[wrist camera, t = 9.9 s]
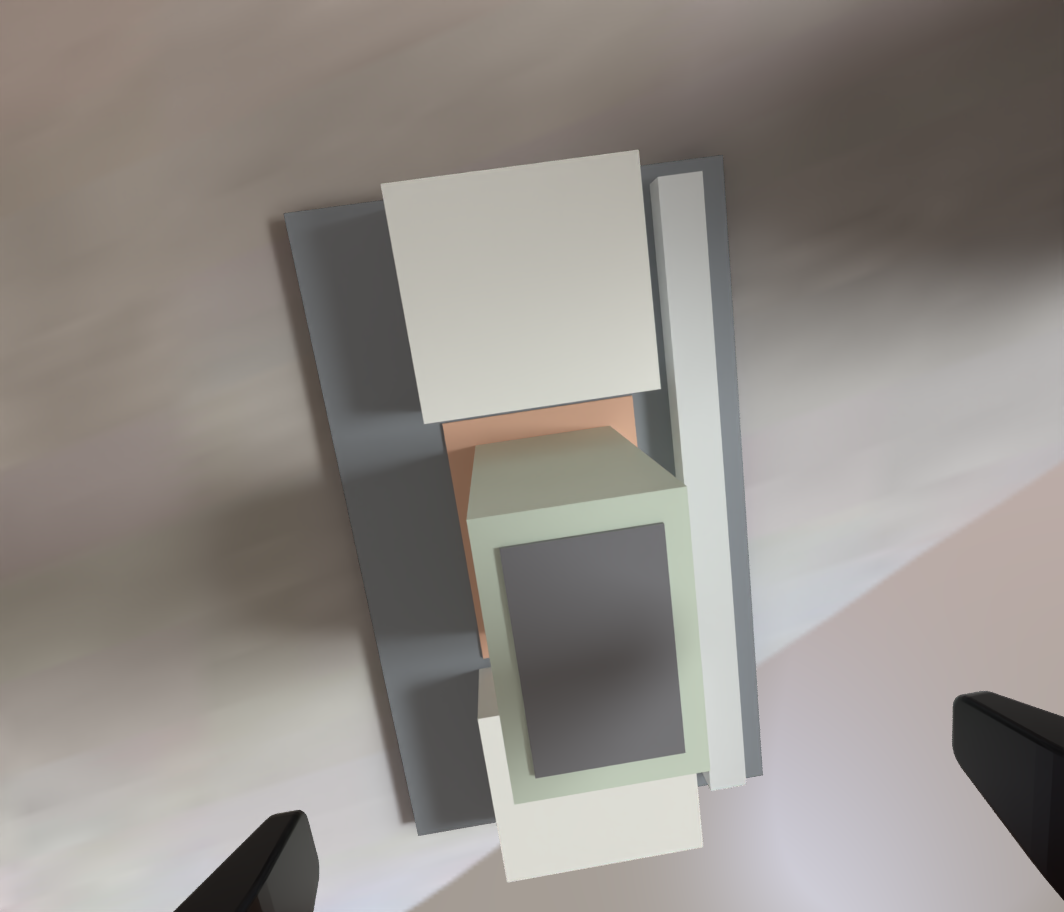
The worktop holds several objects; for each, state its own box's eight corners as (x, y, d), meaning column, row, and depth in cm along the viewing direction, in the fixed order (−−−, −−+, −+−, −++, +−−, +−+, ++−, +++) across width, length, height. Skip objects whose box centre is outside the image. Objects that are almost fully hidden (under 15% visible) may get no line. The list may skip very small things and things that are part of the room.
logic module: (609, 425, 17) (688, 487, 11) (630, 610, 19) (712, 774, 12) (475, 445, 17) (466, 521, 10) (505, 630, 19) (514, 808, 12)
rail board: (714, 160, 17) (763, 123, 14) (755, 762, 21) (799, 835, 18) (291, 217, 16) (246, 191, 13) (420, 821, 21) (408, 905, 18)
